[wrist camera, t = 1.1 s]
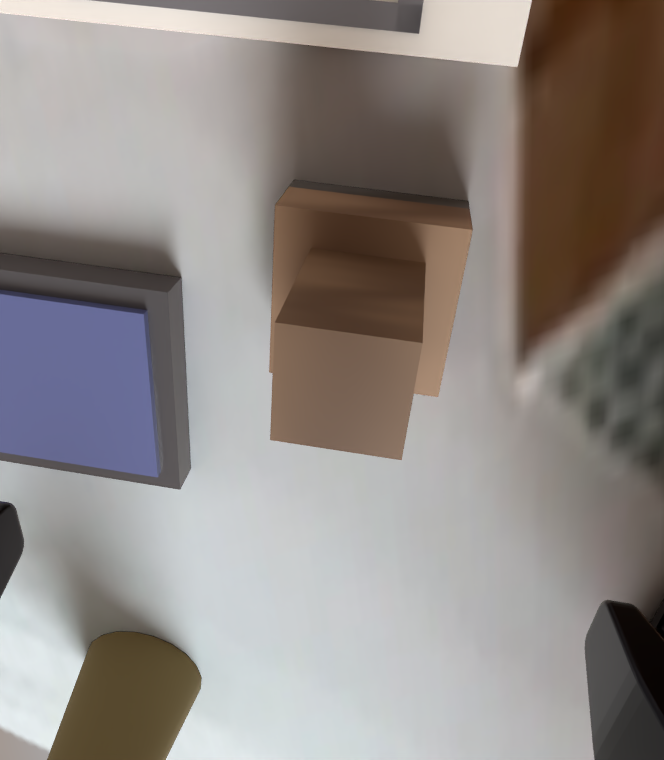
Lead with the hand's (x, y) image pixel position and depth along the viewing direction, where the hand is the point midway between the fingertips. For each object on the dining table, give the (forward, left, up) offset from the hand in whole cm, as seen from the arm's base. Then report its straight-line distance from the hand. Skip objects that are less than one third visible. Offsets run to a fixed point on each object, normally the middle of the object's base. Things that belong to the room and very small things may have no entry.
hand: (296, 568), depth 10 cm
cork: (+9, +23, -12) cm, 27 cm away
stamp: (0, 0, -12) cm, 12 cm away
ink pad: (+10, +5, -12) cm, 16 cm away
